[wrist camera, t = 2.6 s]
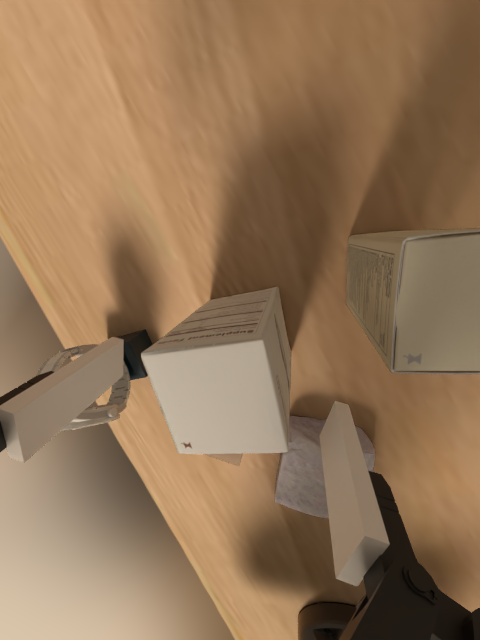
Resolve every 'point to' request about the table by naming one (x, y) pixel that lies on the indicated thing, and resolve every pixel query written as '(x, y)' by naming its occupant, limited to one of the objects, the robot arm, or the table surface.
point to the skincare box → (418, 298)
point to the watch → (119, 396)
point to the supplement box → (226, 376)
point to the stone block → (309, 467)
